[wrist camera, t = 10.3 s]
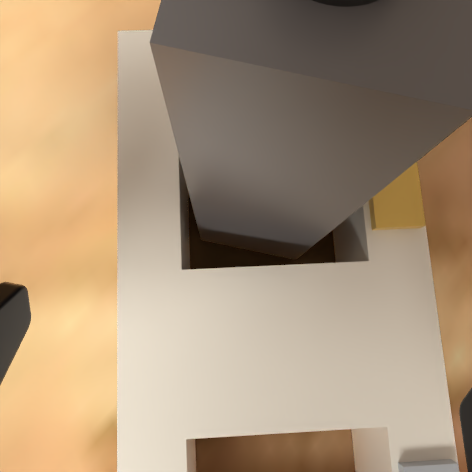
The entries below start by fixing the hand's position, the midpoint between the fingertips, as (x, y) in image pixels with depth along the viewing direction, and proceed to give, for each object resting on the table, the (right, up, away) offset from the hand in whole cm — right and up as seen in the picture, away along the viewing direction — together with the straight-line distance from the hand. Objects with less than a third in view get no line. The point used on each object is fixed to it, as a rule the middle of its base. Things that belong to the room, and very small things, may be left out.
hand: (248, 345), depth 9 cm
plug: (+1, +4, +10) cm, 10 cm away
